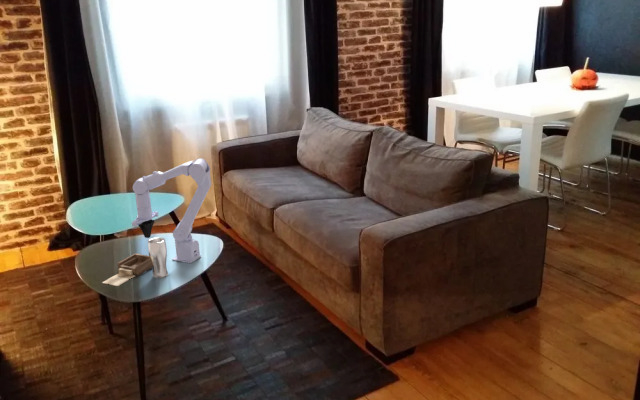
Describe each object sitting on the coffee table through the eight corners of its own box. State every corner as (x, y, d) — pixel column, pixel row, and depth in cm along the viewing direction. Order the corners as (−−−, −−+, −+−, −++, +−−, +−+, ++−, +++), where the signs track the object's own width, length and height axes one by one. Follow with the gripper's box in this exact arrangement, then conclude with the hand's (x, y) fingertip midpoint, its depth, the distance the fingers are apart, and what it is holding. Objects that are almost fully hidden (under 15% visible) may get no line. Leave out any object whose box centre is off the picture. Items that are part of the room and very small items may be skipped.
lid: (135, 277, 243) (134, 270, 243) (118, 287, 235) (117, 280, 234) (119, 274, 247) (119, 267, 246) (102, 284, 238) (101, 277, 237)
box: (155, 265, 253) (154, 256, 252) (138, 276, 243) (137, 266, 242) (136, 262, 257) (135, 253, 256) (118, 272, 247) (117, 263, 246)
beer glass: (160, 280, 239) (156, 244, 235) (147, 276, 243) (143, 241, 238) (172, 273, 245) (169, 239, 240) (160, 270, 248) (156, 236, 244)
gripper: (147, 200, 261) (151, 230, 265) (124, 211, 248) (128, 241, 252) (160, 202, 258) (164, 232, 262) (138, 212, 245) (142, 244, 249)
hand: (147, 237), depth 257 cm, fingers closed
